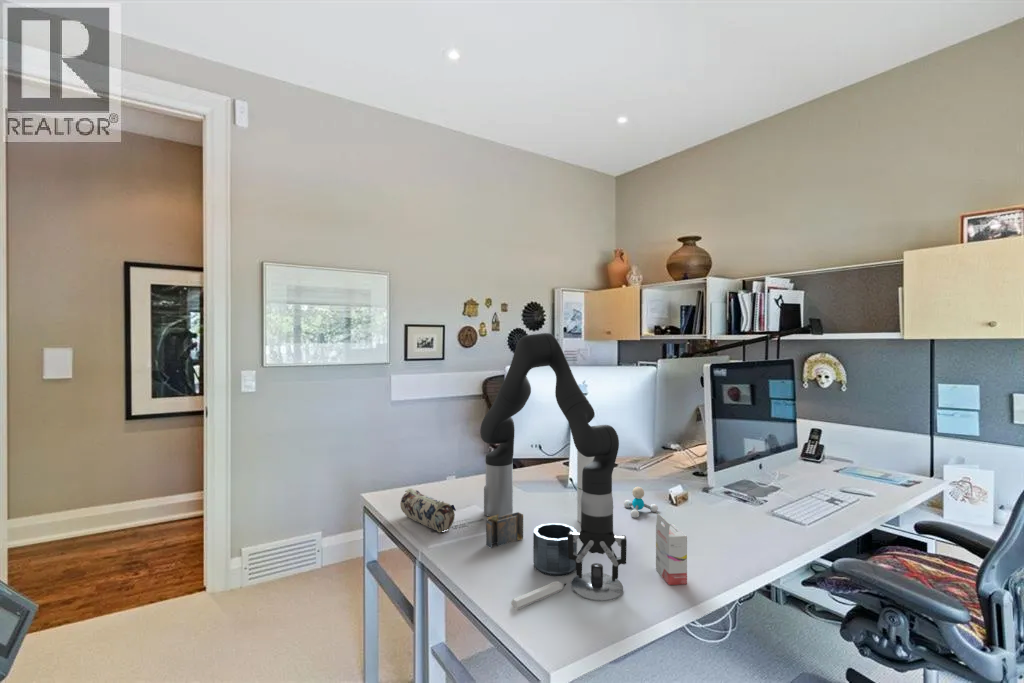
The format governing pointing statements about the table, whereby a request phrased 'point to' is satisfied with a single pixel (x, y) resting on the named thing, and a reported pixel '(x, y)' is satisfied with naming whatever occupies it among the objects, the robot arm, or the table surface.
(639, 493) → the molecule model
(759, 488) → the table surface
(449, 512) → the pencil case
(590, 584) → the lid
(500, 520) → the weathered rectangular holder
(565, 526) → the pot
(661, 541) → the ink cartridge box
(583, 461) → the cylindrical container
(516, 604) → the marker
